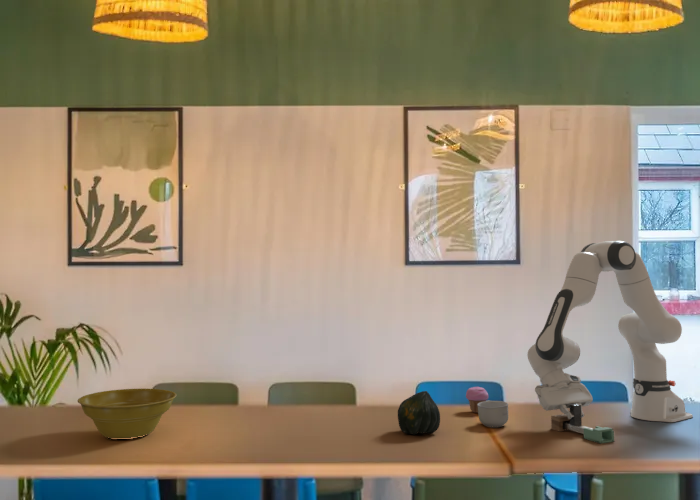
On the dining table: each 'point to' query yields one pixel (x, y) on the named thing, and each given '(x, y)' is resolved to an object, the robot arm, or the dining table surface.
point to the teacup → (493, 413)
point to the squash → (419, 414)
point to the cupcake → (476, 397)
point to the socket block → (559, 422)
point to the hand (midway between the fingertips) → (577, 417)
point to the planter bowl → (127, 410)
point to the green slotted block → (599, 434)
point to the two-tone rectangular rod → (575, 420)
